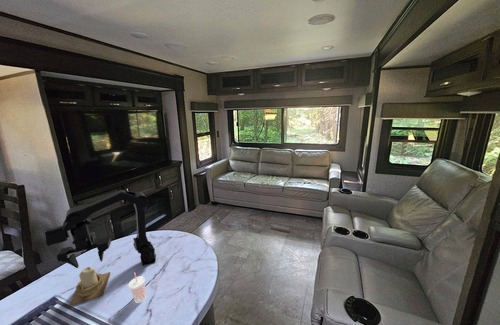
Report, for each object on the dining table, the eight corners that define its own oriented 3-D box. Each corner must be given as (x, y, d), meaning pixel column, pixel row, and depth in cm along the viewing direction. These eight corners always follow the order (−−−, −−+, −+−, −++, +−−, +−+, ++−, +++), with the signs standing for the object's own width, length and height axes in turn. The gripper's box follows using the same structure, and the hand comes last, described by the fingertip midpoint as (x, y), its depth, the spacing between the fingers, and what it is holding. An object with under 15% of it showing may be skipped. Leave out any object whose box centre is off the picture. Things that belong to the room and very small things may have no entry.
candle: (90, 293, 91) (85, 275, 88) (81, 291, 92) (75, 273, 89) (101, 282, 96) (96, 265, 93) (92, 281, 97) (87, 264, 94)
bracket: (110, 273, 103) (108, 267, 101) (102, 296, 90) (100, 289, 89) (81, 281, 98) (79, 275, 97) (69, 306, 86) (67, 299, 85)
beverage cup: (141, 305, 85) (135, 279, 81) (129, 303, 86) (122, 277, 82) (151, 293, 91) (145, 267, 87) (139, 291, 92) (133, 266, 88)
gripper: (110, 220, 99) (117, 247, 103) (62, 230, 92) (72, 258, 97) (104, 233, 89) (112, 262, 93) (50, 245, 82) (61, 276, 87)
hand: (90, 264), depth 93 cm, fingers open, 9 cm apart
